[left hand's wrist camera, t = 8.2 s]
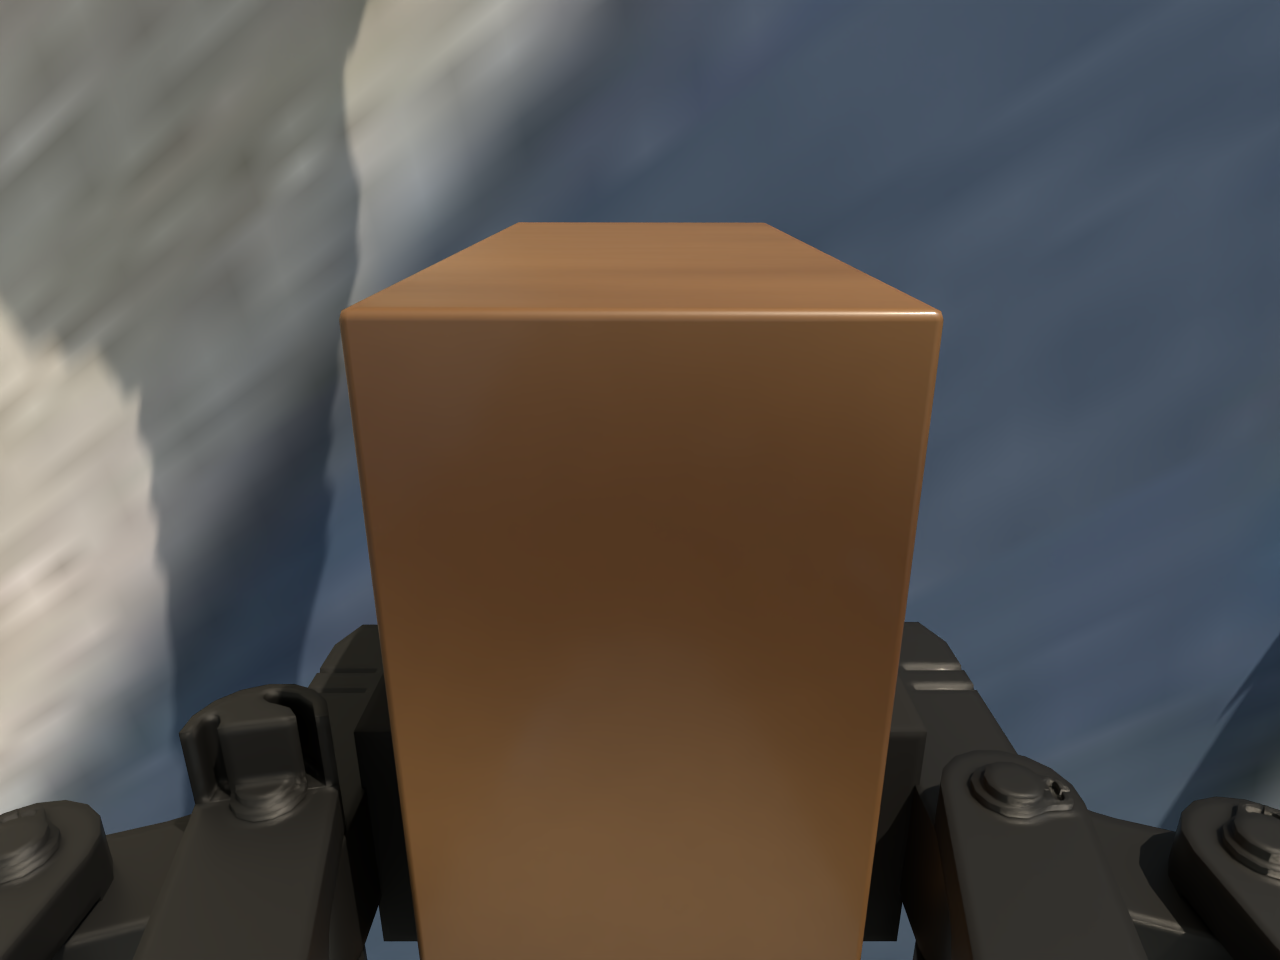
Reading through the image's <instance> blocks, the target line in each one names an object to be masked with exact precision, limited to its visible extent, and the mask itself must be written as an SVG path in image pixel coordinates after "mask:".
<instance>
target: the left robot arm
mask: <svg viewBox="0 0 1280 960" xmlns="http://www.w3.org/2000/svg"><path fill="white" fill-rule="evenodd" d="M179 737H180V741H181V745H182V749H183V754H184V758H185V762H186V766H187V771H188V775H189V779H190V783H191V788H192V792H193V796H194V800H195V807H194V809H193V812H192V814H191V815H187V816H184V817H181V818H177V819H174V820H170V821H167V822H163V823H158V824H154V825H149V826H145V827H140V828H136V829H132V830H127V831H123V832H118V833H114V834H109V835H105V831H104V828H103V824H102V821H101V817H100V815H99V814H98V813H96V812H95V811H94V810H93V809H92V808H91V807H90V806H89V805H88V804H83V803H78V802H73V801H68V800H62V801H52V802H43V803H36V804H32V805H29V806H26V807H22V808H19V809H15V810H13V811H10V812H7V813H4V814H2V815H0V960H367V955H366V949H365V942H366V939H367V936H368V934H369V931H370V928H371V925H372V922H373V919H374V917H375V914H376V911H377V908H378V905H379V911H380V917H381V924H382V931H383V938H384V941H418V940H417V932H416V924H415V916H414V908H413V901H412V893H411V885H410V877H409V869H408V861H407V853H406V845H405V837H404V829H403V821H402V813H401V805H400V798H399V790H398V782H397V774H396V766H395V758H394V750H393V742H392V734H391V726H390V718H389V710H388V703H387V695H386V687H385V679H384V671H383V663H382V655H381V647H380V639H379V631H378V625H362V626H360V627H359V628H358V629H356V630H355V631H354V632H352V633H351V634H349V635H348V636H347V637H345V638H344V639H342V640H341V641H340V642H338V643H337V644H336V645H335V646H334V647H333V649H332V650H331V652H330V654H329V655H328V657H327V658H326V660H325V662H324V663H323V665H322V666H321V668H320V673H317V674H316V676H315V677H314V679H313V680H312V682H311V684H310V685H309V687H308V688H306V687H303V686H299V685H296V684H268V685H263V686H258V687H254V688H249V689H244V690H240V691H238V692H235V693H233V694H230V695H228V696H226V697H223V698H221V699H218V700H216V701H214V702H212V703H211V704H209V705H208V706H206V707H205V708H204V709H202V710H201V711H199V712H198V713H196V714H195V715H193V716H192V717H191V718H190V720H189V721H188V722H187V724H186V725H185V726H184V727H183V729H182V730H181V731H180V732H179ZM902 902H903V905H904V908H905V910H906V913H907V916H908V919H909V922H910V925H911V927H912V930H913V933H914V936H915V939H916V942H915V949H914V955H913V960H1280V810H1277V809H1274V808H1271V807H1268V806H1265V805H1261V804H1259V803H1255V802H1251V801H1248V800H1244V799H1235V798H1225V797H1211V798H1206V799H1201V800H1196V801H1193V802H1192V803H1191V804H1190V805H1189V806H1188V807H1187V808H1186V809H1185V810H1184V811H1183V812H1182V813H1181V817H1180V820H1179V824H1178V827H1177V831H1176V832H1174V831H1170V830H1165V829H1161V828H1156V827H1152V826H1147V825H1143V824H1138V823H1134V822H1129V821H1125V820H1120V819H1116V818H1112V817H1109V816H1105V815H1102V814H1099V813H1095V812H1092V811H1089V810H1087V808H1086V805H1085V803H1084V802H1083V800H1082V799H1081V797H1080V796H1079V794H1078V793H1077V791H1076V790H1075V788H1074V787H1073V786H1072V784H1070V783H1069V782H1068V781H1066V780H1065V779H1064V778H1063V777H1061V776H1060V775H1059V774H1057V773H1056V772H1055V771H1054V770H1052V769H1051V768H1049V767H1047V766H1045V765H1042V764H1040V763H1038V762H1036V761H1034V760H1032V759H1030V758H1027V757H1025V756H1021V755H1018V754H1017V753H1016V751H1015V749H1014V748H1013V746H1012V745H1011V743H1010V742H1009V740H1008V738H1007V737H1006V735H1005V734H1004V732H1003V731H1002V729H1001V727H1000V726H999V724H998V723H997V721H996V720H995V718H994V717H993V715H992V713H991V712H990V710H989V709H988V707H987V706H986V704H985V702H984V701H983V699H982V698H981V696H980V695H979V693H978V691H977V690H974V688H973V684H972V682H971V680H970V679H969V677H968V676H967V674H966V673H965V671H964V670H961V665H960V663H959V662H958V660H957V659H956V657H955V655H954V654H953V652H952V651H951V649H950V648H949V646H948V644H947V643H946V642H945V641H944V640H942V639H941V638H940V637H938V636H937V635H935V634H934V633H933V632H931V631H930V630H928V629H927V628H926V627H924V626H923V625H922V624H920V623H919V622H904V628H903V636H902V643H901V651H900V659H899V666H898V674H897V682H896V690H895V697H894V705H893V713H892V720H891V728H890V736H889V743H888V751H887V759H886V767H885V774H884V782H883V790H882V797H881V805H880V813H879V821H878V828H877V836H876V844H875V851H874V859H873V867H872V874H871V882H870V890H869V898H868V905H867V913H866V921H865V928H864V936H863V941H897V935H898V928H899V922H900V915H901V908H902Z"/></svg>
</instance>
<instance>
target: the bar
mask: <svg viewBox="0 0 1280 960" xmlns="http://www.w3.org/2000/svg"><path fill="white" fill-rule="evenodd" d="M339 322H340V330H341V338H342V346H343V354H344V362H345V370H346V378H347V386H348V394H349V401H350V409H351V417H352V425H353V433H354V441H355V449H356V457H357V465H358V473H359V481H360V489H361V497H362V504H363V512H364V520H365V528H366V536H367V544H368V552H369V560H370V568H371V576H372V584H373V592H374V600H375V607H376V615H377V623H378V631H379V639H380V647H381V655H382V663H383V671H384V679H385V687H386V695H387V703H388V710H389V718H390V726H391V734H392V742H393V750H394V758H395V766H396V774H397V782H398V790H399V798H400V805H401V813H402V821H403V829H404V837H405V845H406V853H407V861H408V869H409V877H410V885H411V893H412V901H413V908H414V916H415V924H416V932H417V940H418V948H419V956H420V960H860V959H861V952H862V944H863V936H864V928H865V921H866V913H867V905H868V898H869V890H870V882H871V874H872V867H873V859H874V851H875V844H876V836H877V828H878V821H879V813H880V805H881V797H882V790H883V782H884V774H885V767H886V759H887V751H888V743H889V736H890V728H891V720H892V713H893V705H894V697H895V690H896V682H897V674H898V666H899V659H900V651H901V643H902V636H903V628H904V620H905V613H906V605H907V597H908V589H909V582H910V574H911V566H912V559H913V551H914V543H915V535H916V528H917V520H918V512H919V505H920V497H921V489H922V482H923V474H924V466H925V458H926V451H927V443H928V435H929V428H930V420H931V412H932V404H933V397H934V389H935V381H936V374H937V366H938V358H939V351H940V343H941V335H942V327H943V317H942V313H941V311H939V310H937V309H935V308H933V307H931V306H929V305H927V304H925V303H923V302H921V301H919V300H917V299H915V298H913V297H911V296H909V295H907V294H905V293H903V292H901V291H899V290H897V289H895V288H893V287H891V286H889V285H887V284H885V283H883V282H881V281H879V280H877V279H875V278H873V277H871V276H869V275H868V274H866V273H864V272H862V271H860V270H858V269H856V268H854V267H852V266H850V265H848V264H846V263H844V262H842V261H840V260H838V259H836V258H834V257H832V256H830V255H828V254H826V253H824V252H822V251H820V250H818V249H816V248H814V247H812V246H810V245H808V244H806V243H804V242H802V241H800V240H798V239H796V238H794V237H792V236H790V235H788V234H786V233H784V232H782V231H780V230H778V229H776V228H774V227H772V226H770V225H768V224H766V223H524V222H519V223H516V224H514V225H512V226H510V227H508V228H506V229H504V230H502V231H500V232H498V233H496V234H494V235H492V236H490V237H488V238H486V239H484V240H482V241H480V242H478V243H476V244H474V245H472V246H470V247H468V248H466V249H464V250H462V251H460V252H458V253H456V254H454V255H452V256H450V257H448V258H446V259H444V260H442V261H440V262H438V263H436V264H434V265H432V266H430V267H428V268H426V269H424V270H422V271H420V272H418V273H416V274H414V275H412V276H410V277H408V278H406V279H404V280H402V281H400V282H398V283H396V284H394V285H392V286H390V287H388V288H386V289H384V290H382V291H380V292H378V293H376V294H374V295H372V296H370V297H368V298H366V299H364V300H362V301H360V302H358V303H356V304H354V305H352V306H350V307H348V308H346V309H344V310H342V311H341V314H340V318H339Z"/></svg>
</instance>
